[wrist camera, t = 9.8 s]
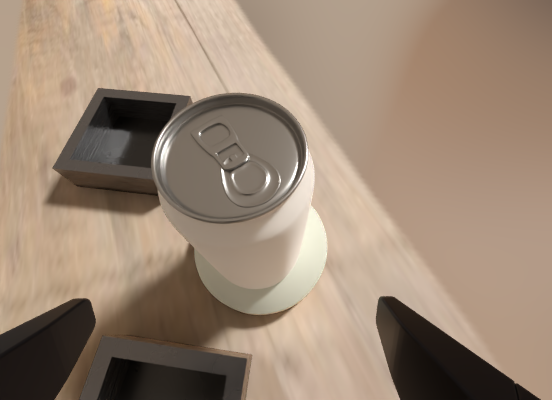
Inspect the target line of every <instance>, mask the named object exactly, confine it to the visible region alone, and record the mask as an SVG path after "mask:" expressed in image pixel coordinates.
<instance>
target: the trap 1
mask: <svg viewBox="0 0 552 400" xmlns="http://www.w3.org/2000/svg"><path fill="white" fill-rule="evenodd" d="M192 103H193V102H192V100H191V97H190V96H183V95H171V94H160V93H148V92H137V91H126V90H114V89H103V88H98V89H97V91H96V93H95V95H94V96H93V98H92V100H91V102H90V103H89V105H88V107H87V109H86V110H85V112H84V114H83V116H82V117H81V119H80V121H79V123H78V124H77V126H76V128H75V130H74V131H73V133H72V135H71V137H70V138H69V140H68V142H67V144H66V145H65V147H64V149H63V151H62V152H61V154H60V156H59V158H58V159H57V161H56V163H55V165H54V166H53V169H54V170H55V171H57V172H58V173H60V174H61V175H62V176H64V177H65V178H67V179H68V180H69V181H71V182H72V183H74V184H75V185H76V186H80V187H89V188H98V189H106V190H115V191H123V192H132V193H141V194H149V195H158V189H157V187H156V185H155V182H154V179H153V175H152V170H151V158H152V152H153V148H154V145H155V142H156V140H157V138H158V136H159V134H160V132H161V131H162V129H163V128H164V126H165V125H166V124H167V123H168V122H169V121H170V120H171V119H172V118H173V117H174V116H175V115H176V114H177V113H178V112H180V111H181V110H182V109H184V108H185V107H187V106H189V105H191V104H192Z"/></svg>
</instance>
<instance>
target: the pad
mask: <svg viewBox="0 0 552 400" xmlns="http://www.w3.org/2000/svg"><path fill="white" fill-rule="evenodd" d="M194 255H195V263H196V268H197V271H198V273H199V276H200V278H201V280H202V282H203V284H204V285H205V287H206V288H207V289H208V291H209V292H210V293H211V294H212V295H213V296H214V297H215V298H216V299H218V300H219V301H220V302H222V303H223V304H225V305H227V306H228V307H230V308H232V309H234V310H237V311H240V312H242V313H246V314H251V315H270V314H274V313H279V312H281V311H284V310H287V309H289V308H291V307H292V306H294V305H296V304H297V303H299V302H300V301H301V300H302V299H303V298H305V297H306V296H307V295H308V294H309V292H310V291H311V290H312V289H313V287H314V286H315V284H316V283H317V281H318V279H319V278H320V276H321V274H322V271H323V269H324V266H325V262H326V257H327V238H326V232H325V229H324V226H323V223H322V221H321V219H320V217H319V215H318V214H317V212H316V211H315V210H314V208H313V207H312V206H311V205H310V210H309V215H308V219H307V224H306V228H305V232H304V237H303V241H302V245H301V249H300V253H299V256H298V259H297V262H296V264H295V266H294V267H293V269H292V270H291V271H290V273H289V274H288V275H287V276H286V277H285V278H284V279H283V280H281V281H280V282H279V283H277V284H275V285H273V286H271V287H268V288H263V289H247V288H243V287H240V286H237V285H235V284H233V283H232V282H230V281H229V280H227V279H226V278H225V277H224V276H223V275H222V274H220V273H219V272H218V271H217V270H216V269H215V268H214V267H213V266H212V265H211V264H210V263H209V262H208V261H207V260H206V259H205V258H204V257H203V256H202V255H201V254H200V253H199V252H198V251H197V250H196V249H195V248H194Z"/></svg>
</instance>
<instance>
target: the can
mask: <svg viewBox="0 0 552 400" xmlns="http://www.w3.org/2000/svg"><path fill="white" fill-rule="evenodd" d="M151 170H152V175H153V179H154V182H155V185H156V187H157V189H158V196H159V200H160V204H161V206H162V209H163V211H164V213H165V215H166V216H167V218H168V219H169V221H170V222H171V224H172V225H173V226H174V227H175V228H176V230H177V231H178V232H179V233H180V234H181V235H182V236H183V237H184V238H185V239H186V240H187V241H188V242H189V243H190V244H191V245H192V246H193V247H194V248H195V249H196V250H197V251H198V252H199V253H200V254H201V255H202V256H203V257H204V258H205V259H206V260H207V261H208V262H209V263H210V264H211V265H212V266H213V267H214V268H215V269H216V270H217V271H218V272H219V273H220V274H222V275H223V276H224V277H225V278H226V279H227V280H229V281H230V282H232V283H233V284H235V285H237V286H240V287H243V288H247V289H263V288H268V287H271V286H273V285H275V284H277V283H279V282H280V281H281V280H283V279H284V278H285V277H286V276H287V275H288V274H289V273H290V271H291V270H292V269H293V267H294V266H295V264H296V262H297V259H298V256H299V253H300V249H301V245H302V241H303V237H304V232H305V228H306V224H307V219H308V215H309V210H310V205H311V201H312V196H313V190H314V165H313V161H312V157H311V155H310V152H309V150H308V143H307V139H306V136H305V133H304V131H303V129H302V127H301V125H300V123H299V122H298V121H297V119H296V118H295V117H294V116H293V115H292V114H291V113H290V112H289V111H288V110H287V109H286V108H284V107H283V106H281V105H280V104H278V103H276V102H274V101H272V100H270V99H267V98H265V97H262V96H258V95H253V94H247V93H226V94H219V95H214V96H210V97H207V98H204V99H201V100H199V101H197V102H194V103H192V104H191V105H189V106H187V107H185V108H184V109H182V110H181V111H180V112H178V113H177V114H176V115H175V116H174V117H173V118H172V119H171V120H170V121H169V122H168V123H167V124H166V125H165V126H164V128H163V129H162V131H161V132H160V134H159V136H158V138H157V140H156V142H155V145H154V148H153V152H152V158H151Z"/></svg>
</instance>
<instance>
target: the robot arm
mask: <svg viewBox="0 0 552 400" xmlns="http://www.w3.org/2000/svg"><path fill="white" fill-rule="evenodd" d="M95 323H96V319H95V315H94V312H93V308H92V305H91V302H90V300H89V299H86V298H77V299H72V300H70V301H68V302H66V303H64V304H62V305H60V306H58V307H56V308H54V309H52V310H50V311H48V312H46V313H44V314H42V315H40V316H38V317H35V318H33V319H31V320H29V321H27V322H25V323H23V324H21V325H19V326H17V327H15V328H13V329H11V330H9V331H7V332H5V333H3V334H1V335H0V400H54V399H55V398H56V396H57V395H58V393H59V391H60V390H61V388H62V387H63V385H64V383H65V382H66V380H67V378H68V377H69V375H70V373H71V371H72V369H73V368H74V366H75V364H76V362H77V360H78V358H79V356H80V354H81V352H82V350H83V348H84V347H85V345H86V343H87V341H88V339H89V337H90V335H91V333H92V331H93V329H94V327H95ZM376 325H377V329H378V332H379V336H380V339H381V343H382V346H383V350H384V353H385V357H386V360H387V364H388V367H389V370H390V374H391V377H392V379H393V382H394V385H395V387H396V390H397V392H398V395H399V397H400V400H541V399H539V398H537V397H536V396H535V395H533V394H532V393H530V392H529V391H528V390H526V389H525V388H523V387H522V386H520V385H519V384H515V383H514V381H513V380H512V379H510V378H509V377H507V376H506V375H505V374H503V373H502V372H500V371H499V370H497V369H496V368H495V367H493V366H492V365H490V364H489V363H487V362H486V361H485V360H483V359H482V358H480V357H479V356H477V355H476V354H475V353H473V352H472V351H470V350H469V349H467V348H466V347H465V346H463V345H462V344H460V343H459V342H458V341H456V340H455V339H453V338H452V337H450V336H449V335H448V334H446V333H445V332H443V331H442V330H440V329H439V328H438V327H436V326H435V325H433V324H432V323H430V322H429V321H428V320H426V319H425V318H423V317H422V316H420V315H419V314H418V313H416V312H415V311H413V310H412V309H410V308H409V307H408V306H406V305H405V304H403V303H402V302H400V301H399V300H398V299H396V298H395V297H392V296H381V297H380V298H379V300H378V306H377V314H376Z"/></svg>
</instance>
